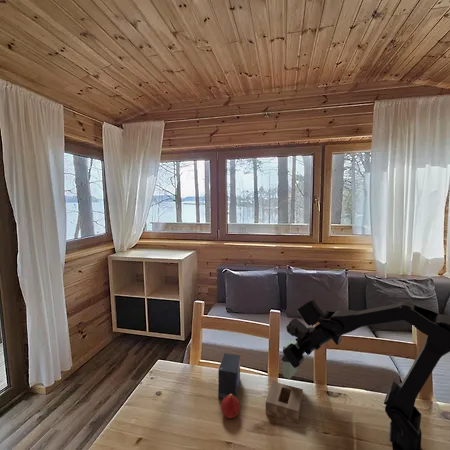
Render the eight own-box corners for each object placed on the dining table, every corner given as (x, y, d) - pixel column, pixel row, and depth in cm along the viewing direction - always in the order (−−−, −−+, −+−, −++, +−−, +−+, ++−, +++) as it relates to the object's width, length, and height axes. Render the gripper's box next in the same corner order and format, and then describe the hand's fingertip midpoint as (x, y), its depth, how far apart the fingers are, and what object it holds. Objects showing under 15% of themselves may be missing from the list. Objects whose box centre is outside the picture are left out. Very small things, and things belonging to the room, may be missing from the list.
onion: (217, 417, 84) (217, 393, 83) (231, 407, 88) (230, 384, 87) (230, 428, 80) (230, 403, 79) (243, 418, 83) (243, 394, 83)
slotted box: (302, 403, 89) (302, 389, 89) (298, 426, 80) (298, 411, 80) (272, 394, 93) (273, 381, 93) (265, 416, 84) (265, 401, 84)
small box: (236, 401, 90) (236, 372, 89) (217, 398, 92) (217, 370, 91) (240, 380, 101) (240, 354, 100) (224, 378, 102) (223, 352, 101)
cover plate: (297, 370, 97) (297, 341, 96) (289, 379, 92) (289, 349, 91) (290, 367, 98) (291, 339, 97) (282, 376, 94) (283, 346, 93)
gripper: (312, 306, 98) (284, 326, 106) (288, 324, 83) (259, 346, 91) (334, 333, 93) (303, 352, 101) (312, 358, 79) (279, 377, 87)
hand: (286, 355), depth 95 cm, fingers closed on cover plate, 6 cm apart
